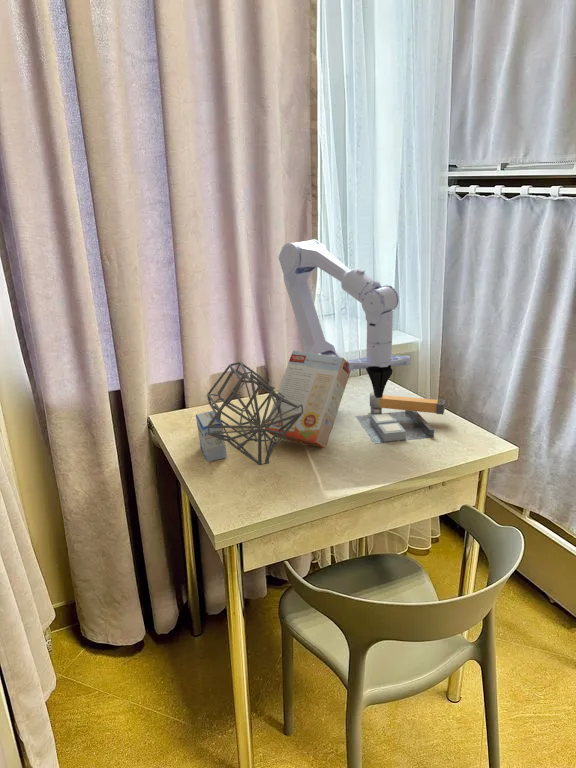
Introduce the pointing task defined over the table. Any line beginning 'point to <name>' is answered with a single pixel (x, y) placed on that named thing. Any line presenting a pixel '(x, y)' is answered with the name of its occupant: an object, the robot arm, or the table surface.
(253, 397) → the geometric lantern
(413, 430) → the tray
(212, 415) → the medicine box
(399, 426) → the module
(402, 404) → the swing bar
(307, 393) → the cracker box
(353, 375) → the table surface
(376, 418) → the block
